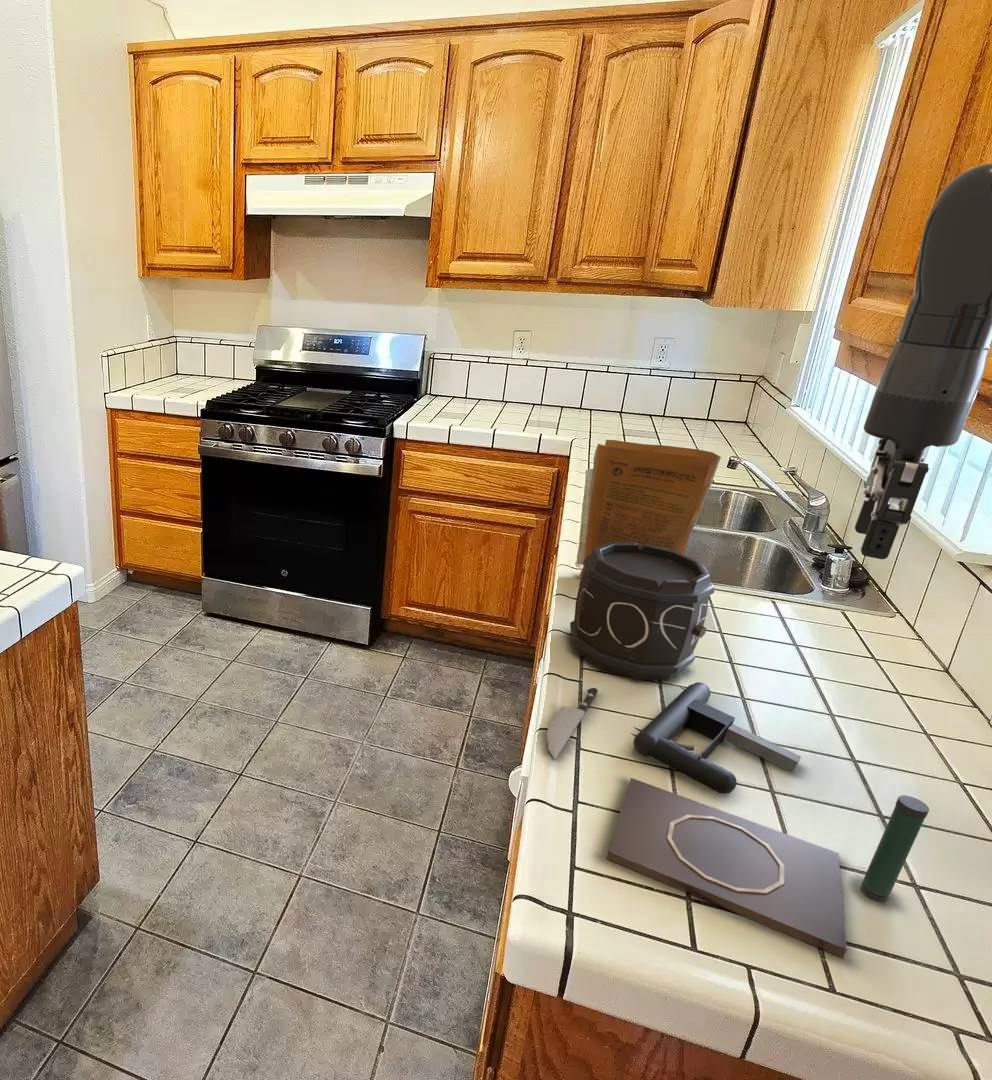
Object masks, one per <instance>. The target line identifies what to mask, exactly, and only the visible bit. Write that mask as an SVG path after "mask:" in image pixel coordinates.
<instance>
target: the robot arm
mask: <svg viewBox="0 0 992 1080" xmlns="http://www.w3.org/2000/svg"><path fill="white" fill-rule="evenodd" d="M915 271H916V272H915V281H914V282H915V283H914V289H913V294H912V297H911V299H910V301H909V303H908V305H907V308H906V311H905V314H904V316H903V319H902V322H901V325H900V328H899V331H898V334H897V337H896V341H895V343H894V345H893V347H892V349H891V351H890V353H889V355H888V357H887V358H886V361H885V364H884V366H883V369H882V370H881V371H882V372H881V375H880V377H879V381H878V384H877V387H876V389H875V392H874V395H873V398H872V401H871V404H870V407H869V410H868V413H867V416H866V419H865V421H864V424H863V431H864V432H865V433H866V434H868V435H869V436H872V437H874V438H877V439H879V440H878V447H877V449H876V450H875V452H874V453H873V454H872V455H873V456H872V458H871V463H870V468H869V469H868V472H867V473H866V479H865V480H864V482H863V486H864V487H863V488H864V489H863V493H862V495H863V498H864V499H863V501H862V505H861V508H860V510H859V514H858V516H857V519H856V522H855V525H854V531H855V532H856V533H858V534H862V535H865V537H864V539H863V542H862V545H861V548H860V553H861V555H862V556H864V557H869V558H872V559H876V560H877V559H878V560H886V559H888V557H889V556H890V553H891V550H892V548H893V546H894V545H893V544H894V542H895V539H896V537H897V535H898V531H899V529H900V526H901V527H902V526H903V525H908V523H909V522H911V519H912V513H913V510H914V508H915V505H916V502H917V499H918V496H919V493H920V491H921V488H922V485H923V483H924V480H925V477H926V475H927V474H928V472H929V469H930V467H929V463H927V462H924V461H925V458H924V455H925V454H924V452H925V449H926V448H928V447H937V448H945V447H952V446H954V445H956V444H957V443H958V442H959V440H960V437H961V434H962V432H963V429H964V427H965V424H966V422H967V419H968V416H969V414H970V412H971V409H972V406H973V404H974V401H975V399H976V396H977V394H978V391H979V388H980V386H981V383H982V381H983V379H984V375H985V372H986V367H987V362H988V357H989V354H990V351H991V350H990V348H992V162H989V163H983V164H979V165H976V166H973V167H971V168H968V169H967V170H965V171H963V172H961V173H960V174H958V175H957V176H955V177H954V178H953V179H952V180H951V181H949V182H948V183H947V185H945V187H944V188H943V189H942V190H941V191H940V192H939V194H938V196H937V197H936V199H935V200H934V202H933V205H932V206H931V209H930V210H929V213H928V215H927V219H926V221H925V225H924V227H923V233H922V236H921V242H920V247H919V253H918V258H917V265H916V270H915ZM891 504H894V505H897V506H898V509H894V508H890V507H891Z"/></svg>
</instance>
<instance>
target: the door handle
mask: <svg viewBox="0 0 992 1080" xmlns="http://www.w3.org/2000/svg"><path fill="white" fill-rule="evenodd" d="M679 688H680V689H682V691H681V692H680V694H678V695H677V696H676V697H675V698H674V699H673V700H672V701H671V702H670V703H668V705H666V707H664V709H662V710H661V711H660V712H659V713H658V714H657V715H656V716H655V717H654V718H653V719H652V720H650V722H648V723H647V724H646V726H644V727H643V728H642V729H639V728H637V727H635V726H633V728H634V729H635V730H637V731H638V733H637V734H634V733H630V734H631V735H632V736H634V738H633V742H632V743H633V744H632V745H633V748H634V749H635V752H636V753H638V754H639V755H640V756H642V757H646V758H652V759H653V760H654V761H655V760H656V761H658V762H660V763H661V764H663V765H664V766H667V767H669V768H670V769H672V770H674V771H676V772H678V773H680V774H682V775H684V776H686V777H688V778H689V779H691V780H693V781H695V782H697V783H699V784H700V785H702V786H704V787H706V788H708V789H710V790H711V791H714V792H716V793H717V794H720V795H729V794H731V793H732V792H734V790H735V789H736V787H737V783H738V781H737V777H736V775H735V774H734V773H733V772H732V771H730V770H728V769H726V768H725V767H722V766H720V765H718V764H716V763H714V762H712V761H710V760H708V758H709V757H710V755H711V754H713V752H714V751H715V750H716V748H718V746H719V745H720V744H722V743H723V742H724V740H725V741H726V742H729V743H731V744H733V745H735V746H736V747H739V748H741V749H744V750H746V751H747V752H750V753H752V754H753V755H755V756H757V757H760V758H762V759H764V760H765V761H768V762H770V763H772V764H773V765H776V766H779V767H780V768H782V769H785V770H786V771H788V772H791V773H794V771H795V770H796V768H797V766H798V765H799V762H800V760H801V758H802V755H799V754H797V753H795V752H793V751H791V750H789V749H787V748H785V747H783V746H780V745H778V744H776V743H774V742H772V741H769V740H768V739H765V738H763V737H762V736H759V735H757V734H755V733H753V732H751V731H748V730H746V729H744V728H742V727H740V726H738V725H736V724H734V722H735V719H736V717H734V716H732V715H731V714H729V713H726V712H724V711H722V710H720V709H718V708H715V707H713V706H711V705H709V704H707V703H708V702H709V700H710V697H711V693H712V691H711V689H710V687H709V686H708V685H707V684H705V683H704V682H699V681H697V682H694V683H692V684H689V685H687V686H686V688H684V687H681V686H679ZM684 727H686V728H688V729H690V730H692V731H694V732H696V733H698V734H700V735H702V736H703V737H706V738H708V739H710V740H712V741H711V742H710V743H709V744H708V745H707V746H706V748H704V750H703V751H702V752H701V753H700V754H697V753H694V751H695V746H694V745H692V744H687V743H686V744H685V743H681V742H677V741H674V740H672V739H673V738H674V737H675V736H676V735H677V734H678V733H679V732H680V731H681V730H682V728H684Z"/></svg>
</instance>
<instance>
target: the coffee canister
mask: <svg viewBox="0 0 992 1080" xmlns="http://www.w3.org/2000/svg"><path fill="white" fill-rule="evenodd" d="M582 562H583V566H584V565H585V570H584V573H583V576H582V577H581V579H580V581H579V585H578V590H577V593H576V594H577V595H576V600H575V605H574V606H575V607H574V617H573V620H572V621H570V622H569V628H570V633H571V637H572V641H573V645H574V646H575V648H576V652H577V654H578V655H580V657H582V658H584V659H585V660H587V661H588V662H589V663H591V664H593V665H594V666H595V667H597V668H598V669H600V670H602V671H606V672H609V673H612V674H616V675H619V676H622V677H626V678H629V679H632V680H636V681H669V680H671V679H673V678H674V677H675V676H676V675H678V674H680V673H681V672H683V671H684V670H685V668H687V667H688V666H689V665H691V664H692V663H693V662H694V661H695V659H696V656H695V654H694V652H695V649H696V647H697V645H698V642H699V640H700V639H702V638H703V637H704V636H705V635H706V632H707V627H705V626H704V625H705V622H706V619H707V614H708V608H709V599H710V596H712V595H713V594H714V593H715V586H714V585H713V583H712V582H711V574H710V573H709V572H708V570H707V569H706V567H705V566H704V565H703V563H702V562H701V561H699V560H697V559H694V558H693V557H690V556H689V555H686V554H685V553H684V554H682V553H679V552H677V551H675V550H671V549H667V548H662V547H658V546H653V545H648V544H644V545H643V546H642V547H641V548H638V545H637V543H630V542H610V543H607V544H605V545H602V546H600V547H597V548H595V549H594V550H593V552H592V554H591V555H589V556H586V557H585V556H584V559H583V561H582Z"/></svg>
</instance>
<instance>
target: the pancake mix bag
mask: <svg viewBox="0 0 992 1080" xmlns="http://www.w3.org/2000/svg"><path fill="white" fill-rule="evenodd" d="M721 459H722V456H720V455H718V454H716V453H715V452H713V451H708V450H703V449H697V448H690V447H689V448H688V447H682V446H681V447H680V446H673V445H662V444H645V443H638V442H630V441H623V440H616V439H606V440H605V443H604V444H602V443H597V445H596V448H595V451H594V455H593V467H592V471H591V480H590V485H589V490H588V504H587V520H586V533H585V534H586V535H585V543H584V548H585V549H584V558H585V557H586V556H589V555H591V554H592V552H593V550H594V549H595V548H597V547H600V546H602V545H605V544H607V543H610V542H630V543H637V545H638V548H641V547H642V546H643V545H644V544H648V545H653V546H658V547H662V548H667V549H671V550H675V551H677V552H679V553H682V554H684V555H685V553H686V550H687V546H688V543H689V540H690V537H691V535H692V532H693V530H694V528H695V526H696V525H697V522H698V520H699V517H700V515H701V512H702V511H703V507H704V504H705V501H706V498H707V495H708V492H709V491H710V488H711V486H712V485H713V482H714V479H715V475H716V472H717V470H718V466H719V463H720V461H721ZM584 570H585V565H584V564H583V566H582V568H581V571H580V573H579V577H581V578H582V576H583V573H584Z"/></svg>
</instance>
